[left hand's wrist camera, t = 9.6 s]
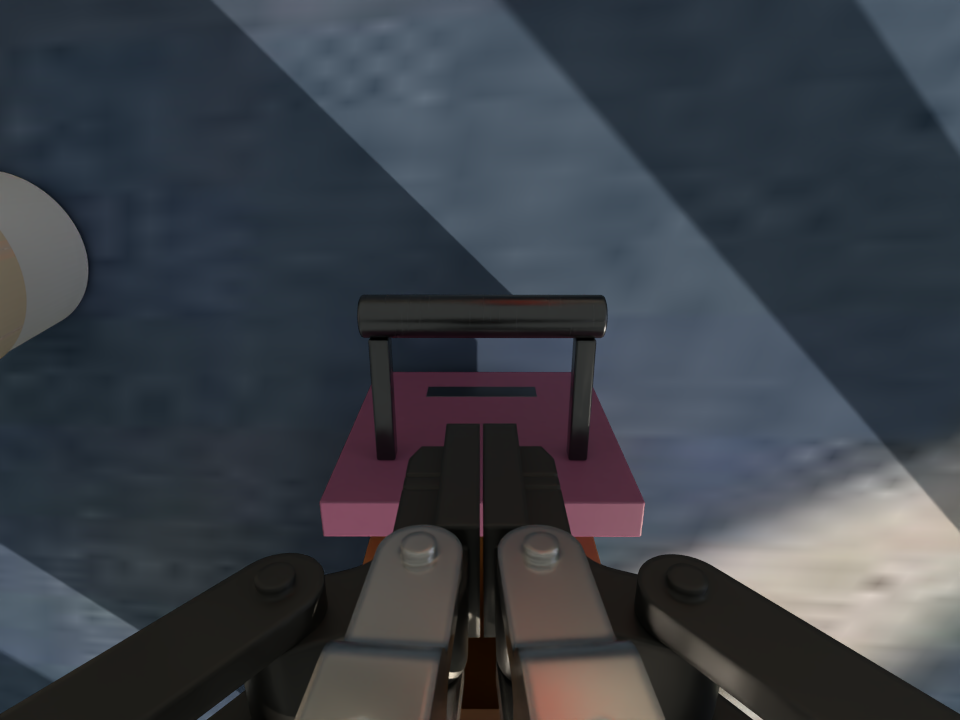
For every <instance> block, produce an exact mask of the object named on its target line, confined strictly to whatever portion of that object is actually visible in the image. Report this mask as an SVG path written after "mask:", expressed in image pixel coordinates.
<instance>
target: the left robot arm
mask: <svg viewBox="0 0 960 720" xmlns="http://www.w3.org/2000/svg"><path fill="white" fill-rule="evenodd" d="M483 603H484V637H496V686H497V695H498V704H499V713H500V720H753V719H751V718H750V717H749V716H748V715H746V714H745V713H744V712H742V711H741V710H740V709H738V708H737V707H736V706H735V705H733V704H732V703H731V702H729V701H728V700H727V699H725V698H724V697H723V696H722V695H720V694H719V693H718V692H719V687H721V688H722V689H724V690H725V691H726V692H728V693H729V694H730V695H732V696H733V697H734V698H736V699H737V700H738V701H740V702H741V703H742V704H743V705H745V706H746V707H747V708H749V709H750V710H751V711H753V712H754V713H755V714H757V715H758V716H759V717H761V718H762V719H763V720H960V714H959V713H957V712H955V711H954V710H952V709H950V708H949V707H947V706H945V705H944V704H942V703H940V702H939V701H937V700H935V699H934V698H932V697H930V696H929V695H927V694H925V693H924V692H922V691H920V690H919V689H917V688H915V687H914V686H912V685H910V684H909V683H907V682H905V681H904V680H902V679H900V678H899V677H897V676H895V675H894V674H892V673H890V672H889V671H887V670H885V669H884V668H882V667H880V666H879V665H877V664H875V663H874V662H872V661H870V660H869V659H867V658H865V657H864V656H862V655H860V654H859V653H857V652H855V651H854V650H852V649H850V648H849V647H847V646H845V645H844V644H842V643H840V642H838V641H837V640H835V639H833V638H832V637H830V636H828V635H827V634H825V633H823V632H822V631H820V630H818V629H817V628H815V627H813V626H812V625H810V624H808V623H807V622H805V621H803V620H802V619H800V618H798V617H797V616H795V615H793V614H792V613H790V612H788V611H787V610H785V609H783V608H782V607H780V606H778V605H777V604H775V603H773V602H772V601H770V600H768V599H767V598H765V597H763V596H762V595H760V594H758V593H757V592H755V591H753V590H752V589H750V588H748V587H747V586H745V585H743V584H742V583H740V582H738V581H737V580H735V579H733V578H732V577H730V576H728V575H727V574H725V573H723V572H722V571H720V570H718V569H717V568H715V567H713V566H712V565H710V564H708V563H706V562H704V561H701V560H699V559H696V558H693V557H689V556H684V555H675V554H668V555H660V556H656V557H653V558H651V559H649V560H648V561H646V562H645V563H644V564H643V565H642V566H641V568H640V570H639V572H638V574H634V573H630V572H625V571H621V570H617V569H613V568H610V567H607V566H604V565H602V564H599V563H597V562H595V561H593V560H592V559H590V558H589V557H587V556H586V555H585V552H584V549H583V547H582V545H581V544H580V542H579V541H578V540H577V539H576V538H575V537H574V536H572V535H571V530H570V526H569V522H568V517H567V513H566V508H565V504H564V500H563V495H562V491H561V489H560V482H559V478H558V474H557V469H556V465H555V461H554V458H553V457H552V456H551V455H550V454H549V453H548V452H547V451H546V450H545V449H544V448H543V447H542V446H519V440H518V432H517V424H516V423H483ZM468 638H480V423H447V424H446V432H445V441H444V446H421V447H420V448H419V449H418V450H417V451H416V452H415V453H414V454H413V455H412V456H411V457H410V458H409V461H408V465H407V470H406V477H405V479H404V484H403V490H402V493H401V497H400V502H399V506H398V511H397V515H396V520H395V525H394V529H393V532H392V533H391V534H389V535H388V536H386V537H385V538H384V539H383V540H382V541H381V542H380V544H379V545H378V547H377V549H376V552H375V555H374V557H373V560H371V561H369V562H367V563H365V564H363V565H361V566H358V567H355V568H352V569H348V570H344V571H340V572H336V573H331V574H327V575H324V571H323V568H322V566H321V565H320V564H319V562H317V561H316V560H315V559H313V558H311V557H310V556H306V555H303V554H298V553H283V554H277V555H272V556H269V557H265V558H263V559H260V560H258V561H256V562H254V563H252V564H250V565H248V566H247V567H245V568H243V569H242V570H240V571H238V572H237V573H235V574H233V575H232V576H230V577H228V578H227V579H225V580H223V581H222V582H220V583H218V584H217V585H215V586H213V587H212V588H210V589H208V590H207V591H205V592H203V593H202V594H200V595H198V596H197V597H195V598H193V599H192V600H190V601H188V602H187V603H185V604H183V605H182V606H180V607H178V608H177V609H175V610H173V611H172V612H170V613H168V614H167V615H165V616H163V617H162V618H160V619H158V620H157V621H155V622H153V623H152V624H150V625H148V626H147V627H145V628H143V629H142V630H140V631H138V632H137V633H135V634H133V635H132V636H130V637H128V638H127V639H125V640H123V641H122V642H120V643H118V644H117V645H115V646H113V647H112V648H110V649H108V650H106V651H105V652H103V653H101V654H100V655H98V656H96V657H95V658H93V659H91V660H90V661H88V662H86V663H85V664H83V665H81V666H80V667H78V668H76V669H75V670H73V671H71V672H70V673H68V674H66V675H65V676H63V677H61V678H60V679H58V680H56V681H55V682H53V683H51V684H50V685H48V686H46V687H45V688H43V689H41V690H40V691H38V692H36V693H35V694H33V695H31V696H30V697H28V698H26V699H25V700H23V701H21V702H20V703H18V704H16V705H15V706H13V707H11V708H10V709H8V710H6V711H5V712H3V713H1V714H0V720H197V719H198V718H199V717H201V716H202V715H203V714H205V713H206V712H207V711H209V710H210V709H211V708H213V707H214V706H215V705H217V704H218V703H219V702H220V701H222V700H223V699H224V698H226V697H227V696H228V695H230V694H231V693H232V692H234V691H235V690H236V689H238V688H239V687H240V686H242V685H243V684H244V685H245V691H244V692H242V693H241V694H240V695H238V696H237V697H236V698H235V699H233V700H232V701H231V702H229V703H228V704H227V705H225V706H224V707H223V708H222V709H220V710H219V711H218V712H216V713H215V714H214V715H212V716H211V717H210V718H209V719H207V720H460V713H461V704H462V695H463V686H464V668H465V666H466V663H467V658H468Z"/></svg>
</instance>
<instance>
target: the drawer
mask: <svg viewBox="0 0 960 720" xmlns="http://www.w3.org/2000/svg"><path fill="white" fill-rule="evenodd" d="M607 316H608V314H607V303H606V300H605V297H604V296H602V295H362V296H360V299H359V302H358V310H357V320H358V329H359V332H360V335H361V337H364V338H370V339H369V341H368V344H369V358H370V372H371V386H370V388H369V391H368V393H367V395H366V397H365V400H364V402H363V404H362V407H361V409H360V411H359V413H358V416H357V418H356V420H355V423H354V425H353V427H352V429H351V432H350V434H349V436H348V438H347V441H346V443H345V445H344V448H343V450H342V452H341V454H340V457H339V459H338V461H337V464H336V466H335V468H334V470H333V473H332V475H331V477H330V480H329V482H328V484H327V486H326V489H325V491H324V493H323V495H322V498H321V500H320V502H319V503H320V511H321V520H322V529H323V535H324V536H370V539H369V543H368V547H367V550H366V554H365V558H364V561H363V564H365V563H367V562H369V561H371V560H373V557H374V555H375V552H376V549H377V547H378V545H379V544H380V542H381V541H382V540H383V539H384V538H385V537H386V536H388V535H389V534H391V533H392V532H393V529H394V525H395V520H396V515H397V511H398V506H399V502H400V497H401V493H402V490H403V484H404V479H405V477H406V470H407V465H408V461H409V458H410V457H411V456H412V455H413V454H414V453H415V452H416V451H417V450H418V449H419V448H420V447H421V446H444V441H445V432H446V424H447V423H480V638H468V658H467V663H466V666H465V668H464V686H463V695H462V704H461V709H499V704H498V695H497V686H496V637H484V603H483V423H516V424H517V432H518V440H519V446H542V447H543V448H544V449H545V450H546V451H547V452H548V453H549V454H550V455H551V456H552V457H553V458H554V461H555V465H556V469H557V474H558V478H559V482H560V489H561V491H562V495H563V500H564V504H565V508H566V513H567V517H568V522H569V526H570V530H571V535H572V536H574V537H575V538H576V539H577V540H578V541H579V542H580V544H581V545H582V547H583V549H584V552H585V555H586V556H587V557H589V558H590V559H592V560H593V561H595V562H597V563H599V564H601V563H600V559H599V556H598V552H597V549H596V545H595V541H594V538H593V537H640V536H641V531H642V523H643V515H644V506H645V502H644V500H643V497H642V495H641V493H640V491H639V488H638V486H637V484H636V482H635V480H634V477H633V475H632V473H631V471H630V468H629V466H628V464H627V462H626V460H625V457H624V455H623V453H622V451H621V448H620V446H619V444H618V442H617V440H616V437H615V435H614V433H613V431H612V428H611V426H610V424H609V422H608V419H607V417H606V415H605V413H604V411H603V408H602V406H601V404H600V402H599V399H598V397H597V395H596V393H595V391H594V388H593V377H594V365H595V352H596V340H595V338H602V337H603V336H604V335H605V332H606V328H607ZM391 338H573V354H572V370H571V372H393V363H392V345H391Z"/></svg>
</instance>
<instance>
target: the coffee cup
mask: <svg viewBox="0 0 960 720" xmlns="http://www.w3.org/2000/svg"><path fill="white" fill-rule="evenodd" d="M87 282H88V259H87V254H86V250H85V247H84V244H83V241H82V238H81V236H80V234H79V232H78V230H77V228H76V227H75V225H74V223H73V222H72V220H71V219H70V217H69V216H68V215H67V213H66V212H65V211H64V210H63V209H62V207H61V206H60V205H59V204H58V203H57V202H56V201H55V200H54V199H52V198H51V197H50V196H49V195H48V194H46V193H45V192H44V191H42V190H41V189H40V188H38V187H37V186H35V185H33V184H32V183H30V182H28V181H26V180H24V179H22V178H19V177H17V176H14V175H11V174H8V173H5V172H0V359H1V358H2V357H3V356H5V355H6V354H7V353H8V352H9V351H11V350H12V349H14V348H16V347H17V346H19V345H21V344H23V343H24V342H26V341H28V340H29V339H31V338H33V337H35V336H36V335H38V334H40V333H41V332H43V331H45V330H46V329H48V328H50V327H52V326H53V325H55V324H57V323H58V322H60V321H62V320H63V319H65V318H66V317H68V316H69V315H70V314H71V313H72V312H73V311H74V310H75V309H76V307H77V306H78V305H79V303H80V301H81V300H82V298H83V296H84V293H85V290H86V287H87Z"/></svg>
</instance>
